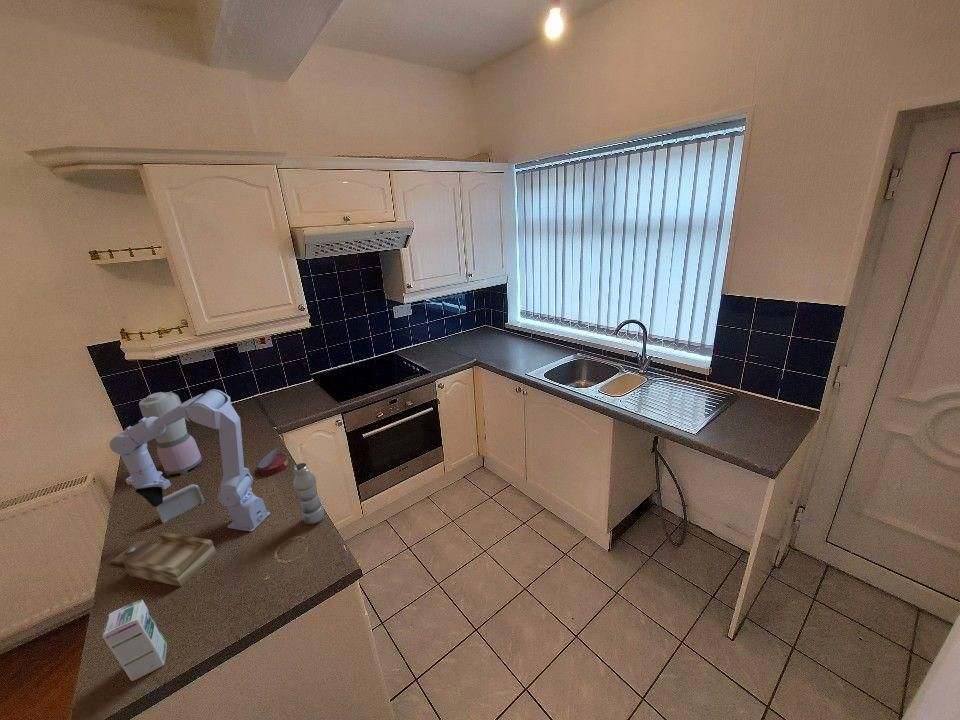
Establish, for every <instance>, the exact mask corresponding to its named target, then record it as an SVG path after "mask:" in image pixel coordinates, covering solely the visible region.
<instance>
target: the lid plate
mask: <svg viewBox="0 0 960 720" xmlns="http://www.w3.org/2000/svg"><path fill="white" fill-rule="evenodd" d="M157 543H158V542H157ZM157 543H156V542H151V541H143V540H137V541H136V542H133V544H131V545H130V546H128V548H126V549H124V551H123V552H121V553H119V554H118V555H117V556H115V558H113V559H112V560H111V562H112V564H114V563H115V565H120V566H125V565H124V562H125V561H127V560H128V559H129V560H134V561H135V560H137V559H138V558H139V557H140V556H142V555H143V554H144V553H145V552H147V551H148V550H149V549H150V548H152V547H153V546H154V545H155V544H157Z"/></svg>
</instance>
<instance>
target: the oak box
mask: <svg viewBox="0 0 960 720" xmlns="http://www.w3.org/2000/svg"><path fill="white" fill-rule="evenodd" d="M158 536H159V538H160V540H159V541H158V542H157V544H155V545H154V546H153V547H152V548H150V549H149V550H148V551H147V552H145V553H144V554H143V555H142V556H140V557H139V558H138V559H137V560H135V561H134V560H129V559H128V560H127V561H125V562H124V565H123V566H125V567H124V568H125V569H126V570H127V573H128V575H129V577H132V578H134V577H135V578H139V579H143V580H148V581H152V582H156V583H157V582H158V583H162V584H167V585H171V586H177V587H183V586H184V585H185V583H187V582H188V581H189V580H190V579H191V578H192V577H193V576H194V575H195V574H196V573H197V572H198V571H199V570H201V568H203V566H205V565H206V564H207V563H208V562H209V561H210V560H211V559H212V558H213V557H214V556H215V555H216V554H217V553H218V552H217V550H216V547H215V546H214V545H215V544H214V543H213V540H212V539H208V538H201V537H196V536H189V535H184V534H178V533H171V532H166V531H163V532H161V533H160V534H159V535H158Z"/></svg>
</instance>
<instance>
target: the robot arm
mask: <svg viewBox="0 0 960 720" xmlns="http://www.w3.org/2000/svg"><path fill="white" fill-rule="evenodd" d="M181 403H182V404H180V405H179V406H177V407H175V408H174V409H172V410H170V411H169V412H167V413H165V414H164V415H162V416H160V417H159V418H158V417H149V418H146V417H144V418H141V419H140V420H138V421H137V422H138V423H136V424H134V425H133V426H131V425H129V426H127V427H126V428H125V429H124V430H123V431H122V432H120V433H119V434H117V435H116V436H114V437H113V438H112V439H111V440H110V441H109V444H108V445H109V449H111V451H112V452H113V453H115V454H117V455H120V457H121V459H122V461H123V463H124V465H125V468H126V469H127V472H128V474H129V477H127V478H126V479H124V480H125V482H126V484H127V485H129V486H130V485H132V486H133V487H134V488H135V490H134V491H135V493H136V494H138V495H140V496H141V497H143V498H144V499H145V500H146V501H147V502H148V503H149V504H150V505H151V506H152V507H154V508H155V507H157V506H159V505H160V504H162V503H163V490H166V489H168V488H169V487H171V486H172V484H171V481H170V479H166V478H164V476H162V475H163V472H162V471H160V470H157V468H156V465H155V463H154V461H153V459H152V456H151V454H150V452H149V450H148V444H147V443H149V442H150V441H152V440H155V438H156V437H158V436H159V435H161V434H163V433H164V432H165V430H166V426H168V425H170V424H172V423H174V422H176V421H178V420H180V419H182V418H185V421H187V422H191V421H192V422H194V423H196V424H199V425H202V426H205V427H208V428H210V429H214V430H218V436H219V446H220V454H221V455H220V457H221V465H222V475H223V476H222V479H221V482H220V484H219V492H218V494H217V501H218V502H219V503H220V505H222V506H225V507H226V508H227V509H228V512H229V515H230V518H231V523H229V524H228V525H227V528H228V529H233V530H239V531H243V532H244V531H245V532H253V531H254V530H255V529H256V528H257V527H259V526H260V524H261V523H262V522H263V521H265V519H266V518H268V516H270V515H271V512H270V511H268V510H267V507H266V504H265V501H264V499H263V498H261V497H258V496H256V495H255V494H254V492H253V491H252V486H253V483H254V477H253V476H252V475H251V473H250V469H249V468H248V467H245V462H244V451H243V438H242V437H243V436H242V435H243V434H242V426H241V425H242V424H241V418H240V416H239V414H238V413H237V411H236V410H235V408H234V407H233V406H232V402H231V396H229V395H228V394H226V393H225V392H224V391H222V390H219V389H215V388H214V389H210V390H207V391H206V392H205V393H200V394H198V395H196V396H193V397H191V398H190V399H188V400H186V401H183V402H181Z"/></svg>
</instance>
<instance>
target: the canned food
mask: <svg viewBox="0 0 960 720" xmlns="http://www.w3.org/2000/svg"><path fill="white" fill-rule="evenodd" d="M280 449H281V446H277V447H276V448H274V449H273V450H271V451H269V452H267V453H268V454H267V455H265V456H264V457H263V458H262V460H260V462H259V463H258V469H259V472H260V474H261V475H262V476H265V477H266V476H268V477H269V476H273V475H276V474H277V475H278V474H279V473H281V472H283V471H284V470H286V469H287V468H286V467H288V466H289V462H288V461H289V460H288V458H287V455H285V454H284V453H279V451H280Z"/></svg>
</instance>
